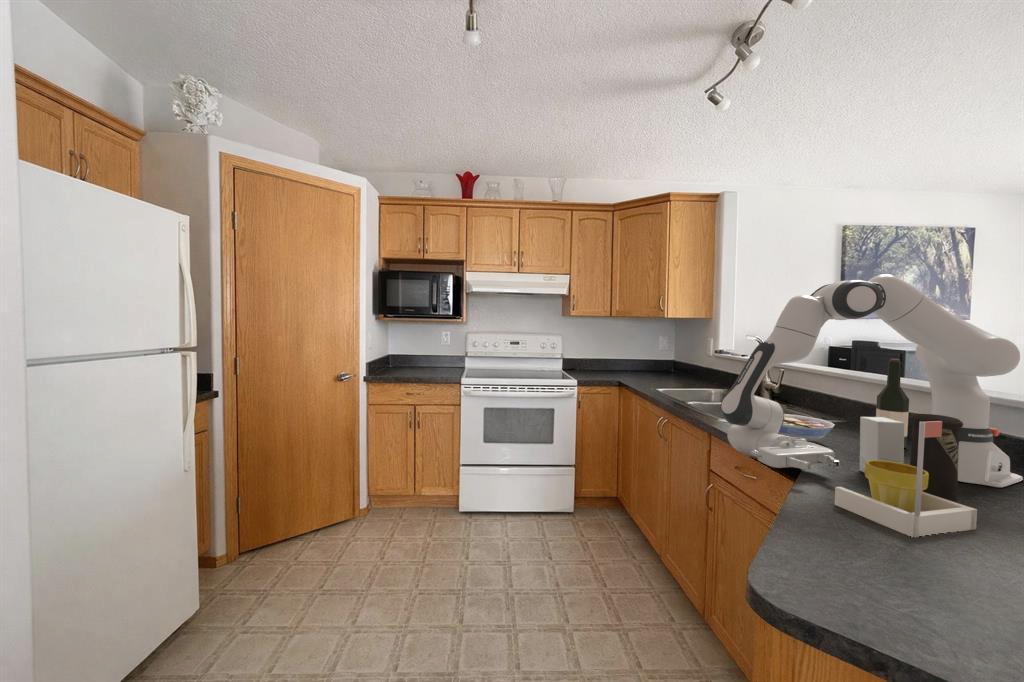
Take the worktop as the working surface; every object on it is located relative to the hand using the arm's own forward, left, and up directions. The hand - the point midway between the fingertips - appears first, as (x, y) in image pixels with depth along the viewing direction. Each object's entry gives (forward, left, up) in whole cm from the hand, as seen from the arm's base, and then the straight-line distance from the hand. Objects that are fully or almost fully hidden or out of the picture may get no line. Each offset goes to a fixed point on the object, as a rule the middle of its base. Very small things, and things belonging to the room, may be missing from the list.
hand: (823, 465), depth 109 cm
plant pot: (-2, +15, -5) cm, 16 cm away
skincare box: (-23, -3, -5) cm, 24 cm away
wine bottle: (-60, -26, -5) cm, 66 cm away
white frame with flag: (0, +17, -5) cm, 18 cm away
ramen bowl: (-32, -38, -5) cm, 50 cm away
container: (-18, +12, -5) cm, 22 cm away
